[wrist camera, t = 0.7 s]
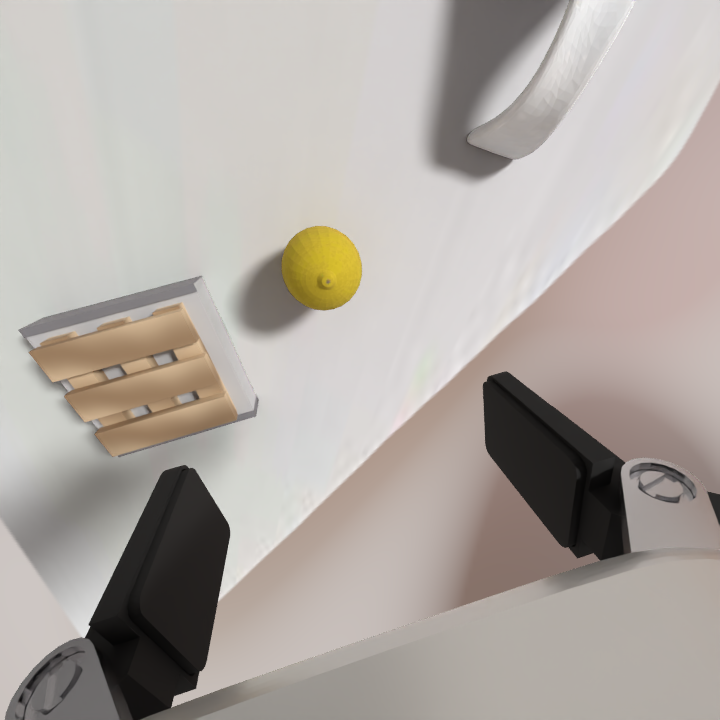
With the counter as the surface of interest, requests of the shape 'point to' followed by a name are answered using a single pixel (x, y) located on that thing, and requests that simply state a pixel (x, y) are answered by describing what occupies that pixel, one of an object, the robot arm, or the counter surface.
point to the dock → (142, 307)
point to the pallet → (139, 379)
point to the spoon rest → (555, 79)
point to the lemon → (321, 268)
